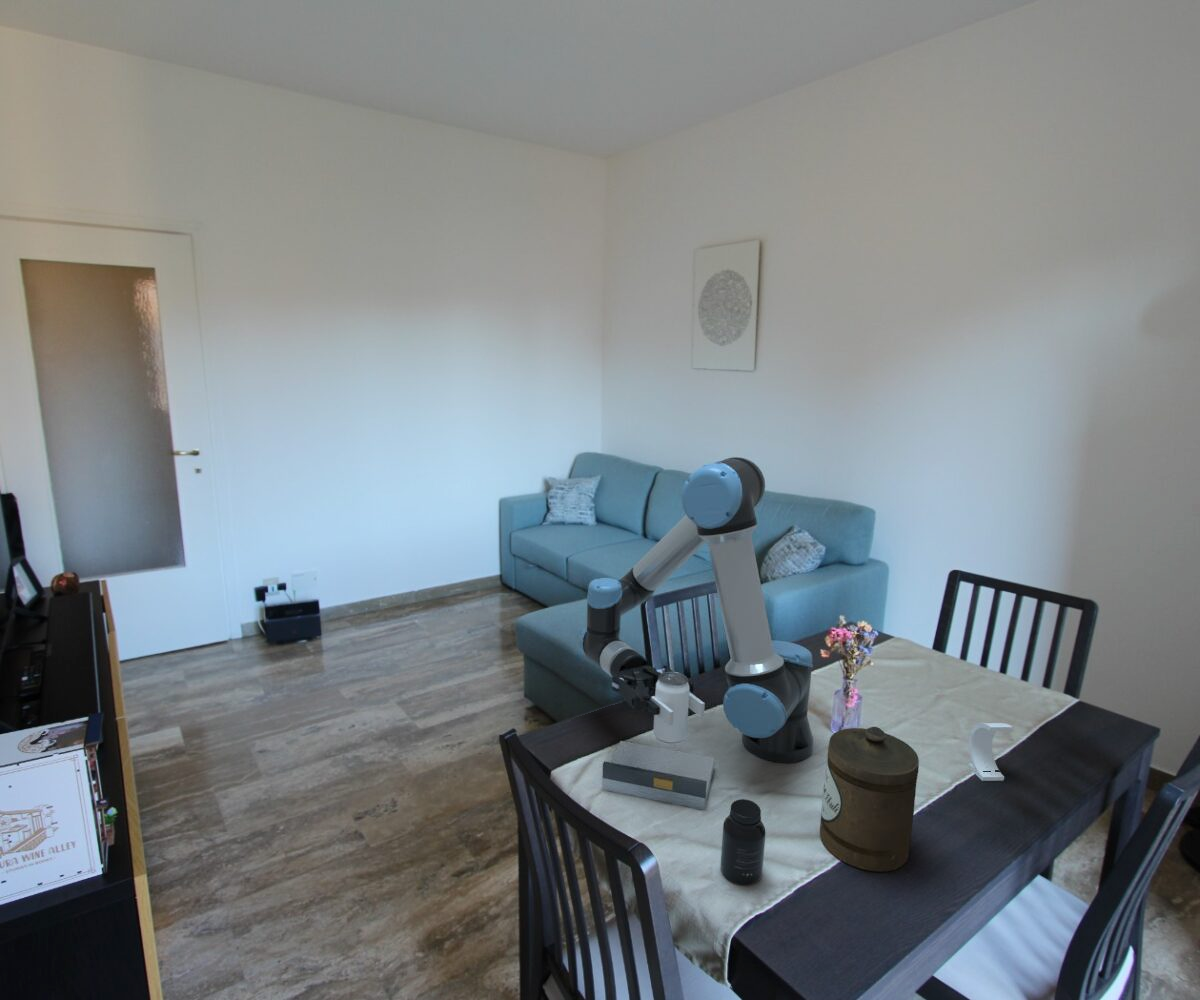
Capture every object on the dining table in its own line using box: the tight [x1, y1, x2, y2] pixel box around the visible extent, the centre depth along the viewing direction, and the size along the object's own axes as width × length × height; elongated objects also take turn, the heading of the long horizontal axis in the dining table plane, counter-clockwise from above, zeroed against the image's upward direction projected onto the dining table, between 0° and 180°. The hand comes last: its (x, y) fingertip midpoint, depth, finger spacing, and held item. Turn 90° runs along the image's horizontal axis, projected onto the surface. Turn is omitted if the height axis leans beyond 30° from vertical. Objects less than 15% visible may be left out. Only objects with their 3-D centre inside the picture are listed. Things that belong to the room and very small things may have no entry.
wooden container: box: [819, 726, 920, 873], centre depth 122 cm, size 15×15×22 cm
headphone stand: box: [967, 722, 1013, 782], centre depth 145 cm, size 5×6×12 cm
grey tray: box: [601, 740, 716, 811], centre depth 140 cm, size 20×14×6 cm
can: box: [653, 671, 689, 744], centre depth 135 cm, size 6×6×12 cm
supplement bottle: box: [720, 798, 766, 886], centre depth 115 cm, size 7×7×12 cm
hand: (687, 714), depth 131 cm, fingers closed on can, 6 cm apart
